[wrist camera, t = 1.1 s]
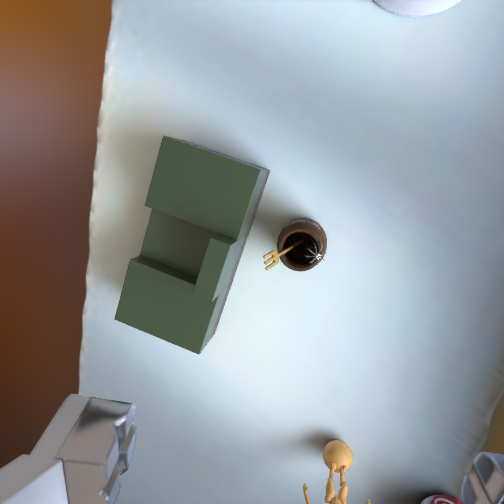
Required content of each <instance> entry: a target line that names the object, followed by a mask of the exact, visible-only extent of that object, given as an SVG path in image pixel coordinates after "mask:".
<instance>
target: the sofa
mask: <svg viewBox="0 0 504 504" xmlns="http://www.w3.org/2000/svg"><path fill="white" fill-rule="evenodd" d="M269 172H270V170H267V169H264V168H261V167H259V166H256V165H253V164H250V163H247V162H244V161H241V160H239V159H236V158H233V157H230V156H227V155H224V154H222V153H219V152H216V151H213V150H210V149H207V148H204V147H202V146H199V145H196V144H193V143H190V142H187V141H184V140H180V139H176V138H171V137H167V136H163V139H162V143H161V147H160V151H159V154H158V158H157V162H156V166H155V169H154V173H153V177H152V181H151V184H150V188H149V192H148V195H147V199H146V203H145V206H147V207H150V208H152V212H151V216H150V220H149V223H148V227H147V231H146V234H145V238H144V242H143V245H142V249H141V253H140V256H137V257H135V258H133V259H131V260H130V263H129V267H128V270H127V274H126V278H125V282H124V285H123V289H122V293H121V297H120V300H119V304H118V308H117V311H116V315H115V320H117V321H120V322H122V323H125V324H127V325H129V326H132V327H134V328H137V329H139V330H141V331H144V332H146V333H149V334H151V335H153V336H156V337H158V338H161V339H163V340H165V341H168V342H170V343H173V344H175V345H177V346H180V347H182V348H185V349H187V350H189V351H192V352H194V353H197V354H200V353H201V351H202V350H203V349H204V347H205V346H206V345H207V343H208V342H209V340H210V339H211V338H212V336H213V335H214V334H215V331H216V328H217V325H218V322H219V319H220V316H221V314H222V311H223V308H224V305H225V302H226V299H227V296H228V293H229V290H230V287H231V284H232V281H233V278H234V275H235V272H236V269H237V267H238V264H239V261H240V258H241V255H242V252H243V249H244V246H245V243H246V240H247V237H248V234H249V231H250V228H251V225H252V222H253V219H254V217H255V214H256V211H257V208H258V205H259V202H260V199H261V196H262V193H263V190H264V187H265V184H266V181H267V178H268V175H269Z"/></svg>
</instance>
